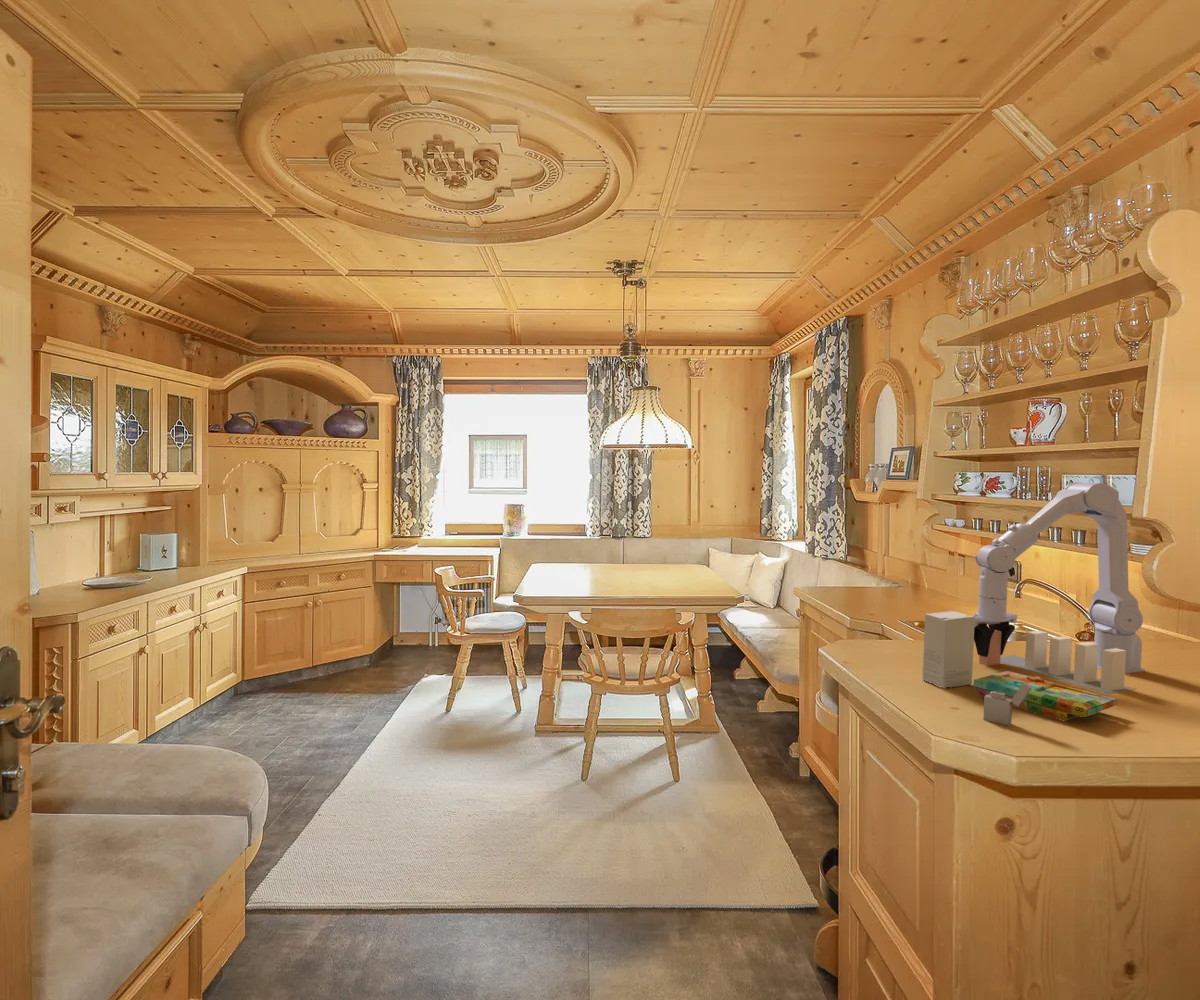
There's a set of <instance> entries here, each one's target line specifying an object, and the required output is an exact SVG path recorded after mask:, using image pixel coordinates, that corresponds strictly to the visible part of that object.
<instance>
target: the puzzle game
mask: <svg viewBox="0 0 1200 1000" xmlns="http://www.w3.org/2000/svg"><path fill="white" fill-rule="evenodd" d="M1024 682H1026V683H1028V684H1029V685H1031V686H1032V688H1031V690H1030V691H1029V693H1028V694H1027V695H1026V697H1025V698H1024V700H1023V701H1022V703H1021V704H1020V705H1019V706H1018V709H1021V708H1022V710H1024V709H1026V710H1025V711H1028V710H1029V711H1028V712H1031V711H1032V713H1034V712H1036V713H1035V714H1038V713H1039V714H1038V715H1041V714H1042V716H1045V715H1046V717H1048V716H1049V718H1052V717H1053V719H1055V718H1057V719H1056V720H1059V719H1061V720H1060V721H1062V720H1064V721H1063V722H1067V721H1070V720H1072V719H1071V718H1073V719H1075V718H1078V717H1080V718H1085V717H1088V716H1091V715H1094V714H1097V713H1099V712H1102V711H1105V710H1107V709H1111V708H1113V707H1116V706H1118V705H1117V704H1118V703H1117V702H1118V699H1117V698H1114V697H1110V696H1107V695H1103V694H1099V693H1095V692H1091V691H1087V690H1083V689H1080V688H1076V687H1073V686H1072V687H1071V686H1068V685H1065V684H1061V683H1056V682H1053V681H1050V680H1049V681H1048V680H1045V679H1043V678H1042V677H1040V676H1033V675H1025V674H1021V673H1017V672H1015V671H1009V670H1007V671H1002V672H997V673H995V674H990V675H987V676H982V677H979V678H978V677H977V678H975V679H973V687H974V688H975V690H976V691H977V692H978V694H979V695H980V696H981V698H983V697H984V696H985V695H990V692H994V691H996V692H1001V693H1005V698H1006V699H1011V700H1012V699H1013V697H1014V696H1015V694H1016V693H1017V691H1018V690H1019V688H1020V687H1021V685H1022V684H1023V683H1024ZM1012 707H1015V708H1017V706H1016V705H1014V704H1013V703H1012ZM1077 716H1078V717H1077ZM1074 717H1075V718H1074ZM1069 719H1070V720H1069ZM1066 720H1067V721H1066Z"/></svg>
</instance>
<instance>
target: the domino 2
mask: <svg viewBox="0 0 1200 1000" xmlns="http://www.w3.org/2000/svg"><path fill="white" fill-rule="evenodd" d="M1025 635H1026V637H1025V655H1024V656H1025V657H1024V658H1025V666H1026V667H1029V668H1033V669H1035V668H1042V667H1046V664H1047V658H1048V657H1047V656H1048V639H1049V636H1048V635H1049V632H1048V631H1042V630H1032V631H1026V633H1025Z"/></svg>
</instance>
